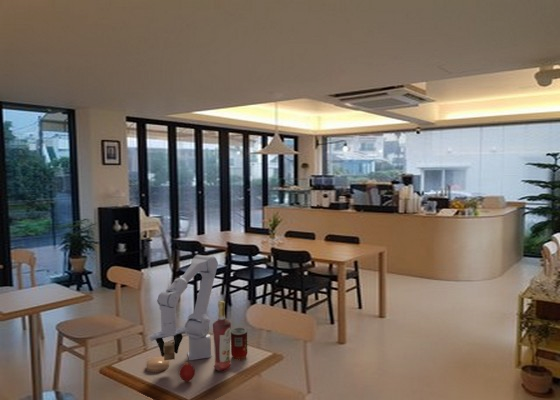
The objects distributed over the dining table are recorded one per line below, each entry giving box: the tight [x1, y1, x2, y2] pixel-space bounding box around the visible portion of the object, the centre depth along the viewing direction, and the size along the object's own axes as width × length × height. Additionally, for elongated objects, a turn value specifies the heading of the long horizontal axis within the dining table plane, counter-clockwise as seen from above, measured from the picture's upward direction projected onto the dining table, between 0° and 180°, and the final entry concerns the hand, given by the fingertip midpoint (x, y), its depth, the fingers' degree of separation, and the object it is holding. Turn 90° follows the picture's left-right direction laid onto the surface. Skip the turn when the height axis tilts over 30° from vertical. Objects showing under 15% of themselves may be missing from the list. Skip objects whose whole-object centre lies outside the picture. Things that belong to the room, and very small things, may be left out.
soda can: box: [230, 327, 248, 361], centre depth 177 cm, size 7×7×12 cm
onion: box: [178, 361, 196, 383], centre depth 156 cm, size 6×6×8 cm
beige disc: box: [145, 355, 170, 373], centre depth 169 cm, size 9×9×2 cm
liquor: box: [212, 300, 232, 372], centre depth 166 cm, size 7×7×28 cm
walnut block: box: [164, 341, 176, 361], centre depth 164 cm, size 4×4×6 cm
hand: (169, 354), depth 164 cm, fingers closed on walnut block, 5 cm apart
